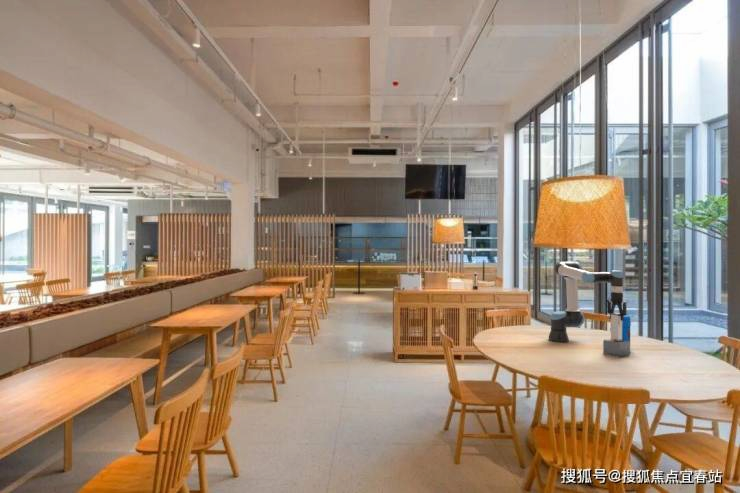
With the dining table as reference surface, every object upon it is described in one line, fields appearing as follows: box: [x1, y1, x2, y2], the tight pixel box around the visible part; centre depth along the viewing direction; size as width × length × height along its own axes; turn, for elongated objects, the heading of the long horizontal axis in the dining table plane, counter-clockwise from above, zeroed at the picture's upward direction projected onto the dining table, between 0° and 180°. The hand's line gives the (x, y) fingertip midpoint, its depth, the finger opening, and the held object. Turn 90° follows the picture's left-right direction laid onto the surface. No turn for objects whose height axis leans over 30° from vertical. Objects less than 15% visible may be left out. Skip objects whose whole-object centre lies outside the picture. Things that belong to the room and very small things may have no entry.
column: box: [610, 312, 622, 342], centre depth 298 cm, size 5×6×22 cm
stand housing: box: [602, 337, 631, 358], centre depth 298 cm, size 12×12×11 cm
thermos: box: [622, 315, 631, 342], centre depth 313 cm, size 11×11×25 cm
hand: (616, 324), depth 298 cm, fingers closed on column, 5 cm apart
